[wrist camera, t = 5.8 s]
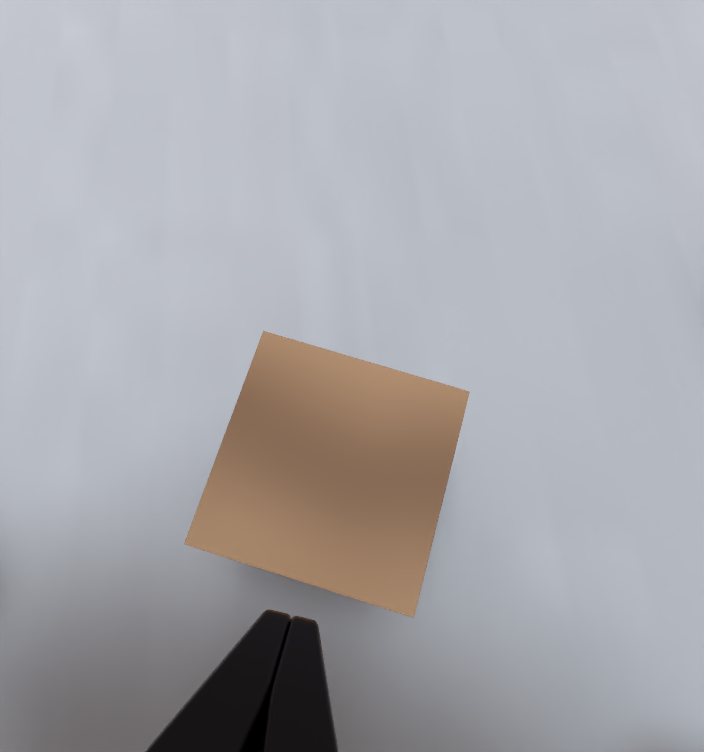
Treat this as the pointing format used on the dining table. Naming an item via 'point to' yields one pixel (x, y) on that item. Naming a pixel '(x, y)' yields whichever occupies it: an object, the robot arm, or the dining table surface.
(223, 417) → the dining table surface
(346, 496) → the plain block
